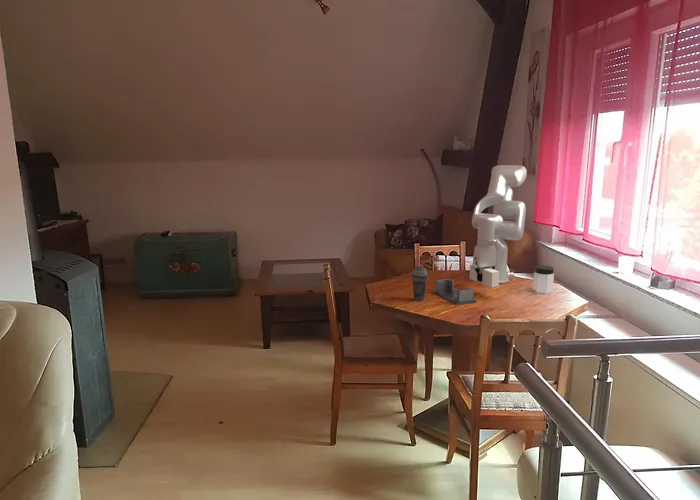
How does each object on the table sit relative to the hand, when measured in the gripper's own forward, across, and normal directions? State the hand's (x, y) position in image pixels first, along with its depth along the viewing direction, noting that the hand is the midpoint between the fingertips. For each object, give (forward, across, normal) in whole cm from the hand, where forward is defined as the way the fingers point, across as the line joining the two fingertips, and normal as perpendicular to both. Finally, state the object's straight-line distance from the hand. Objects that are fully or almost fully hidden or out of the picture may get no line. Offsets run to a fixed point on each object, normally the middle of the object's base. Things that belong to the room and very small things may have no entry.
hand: (483, 280), depth 250 cm
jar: (+7, -30, +6) cm, 31 cm away
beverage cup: (+6, +33, -2) cm, 34 cm away
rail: (+1, 0, 0) cm, 1 cm away
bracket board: (+6, +16, 0) cm, 18 cm away
